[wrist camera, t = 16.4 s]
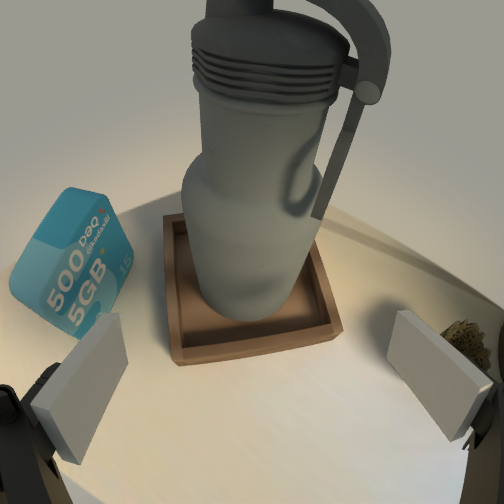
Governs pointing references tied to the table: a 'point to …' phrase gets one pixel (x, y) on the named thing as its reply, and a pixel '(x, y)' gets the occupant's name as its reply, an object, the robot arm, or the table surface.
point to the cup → (468, 342)
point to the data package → (73, 262)
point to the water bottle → (270, 141)
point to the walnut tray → (235, 332)
